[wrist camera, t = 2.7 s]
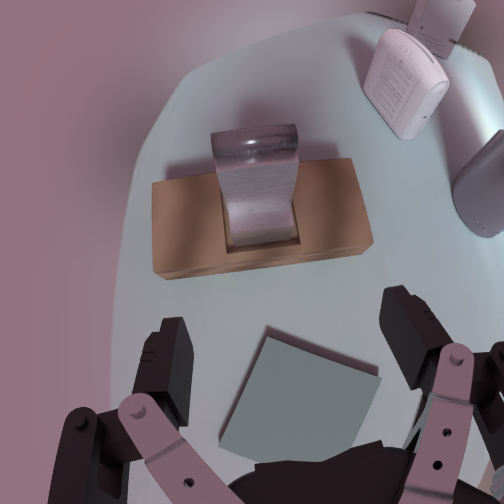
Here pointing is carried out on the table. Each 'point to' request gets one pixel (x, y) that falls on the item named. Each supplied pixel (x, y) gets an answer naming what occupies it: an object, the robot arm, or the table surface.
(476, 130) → the table surface
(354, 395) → the rubber mat
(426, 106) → the photo printer
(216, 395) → the table surface
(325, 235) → the body
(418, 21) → the skincare box
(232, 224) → the lever cap
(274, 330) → the table surface
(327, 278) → the table surface
